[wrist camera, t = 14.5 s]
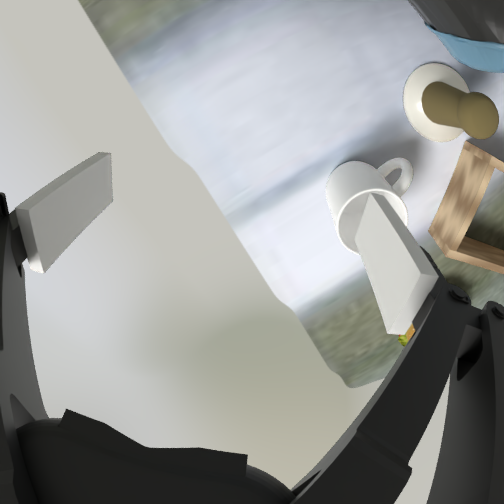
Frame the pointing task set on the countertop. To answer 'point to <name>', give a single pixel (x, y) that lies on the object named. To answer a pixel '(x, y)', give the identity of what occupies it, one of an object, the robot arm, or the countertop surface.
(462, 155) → the access box
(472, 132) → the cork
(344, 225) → the mug
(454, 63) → the countertop surface
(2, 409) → the robot arm
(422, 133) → the coaster
